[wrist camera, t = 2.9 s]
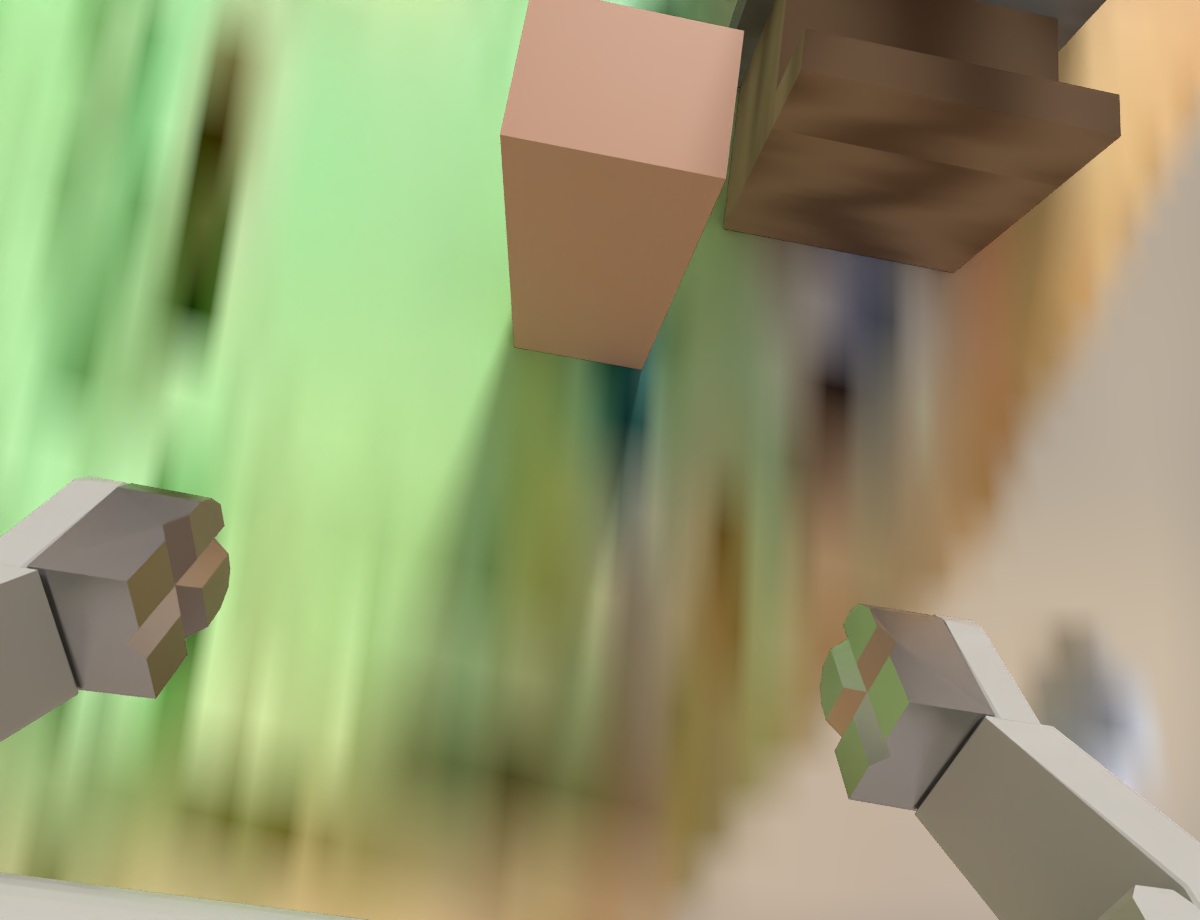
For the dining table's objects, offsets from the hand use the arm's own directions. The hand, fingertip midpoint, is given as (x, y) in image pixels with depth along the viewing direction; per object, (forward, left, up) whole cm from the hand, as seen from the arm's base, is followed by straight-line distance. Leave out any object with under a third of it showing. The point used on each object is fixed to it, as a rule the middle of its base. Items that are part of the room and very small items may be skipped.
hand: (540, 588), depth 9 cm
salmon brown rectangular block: (0, +11, -16) cm, 20 cm away
